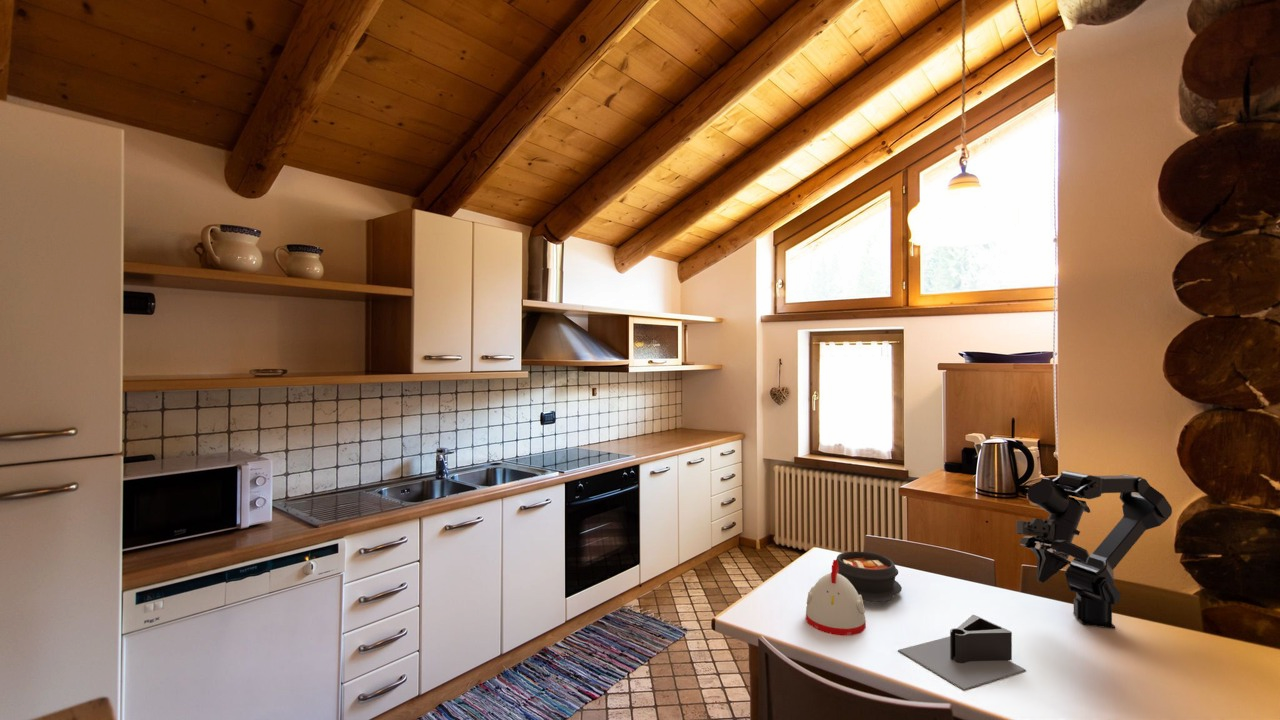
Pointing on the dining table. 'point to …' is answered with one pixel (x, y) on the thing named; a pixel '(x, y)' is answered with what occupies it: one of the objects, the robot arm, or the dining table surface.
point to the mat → (958, 665)
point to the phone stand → (980, 641)
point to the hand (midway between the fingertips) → (1039, 581)
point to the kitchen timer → (835, 605)
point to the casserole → (870, 575)
